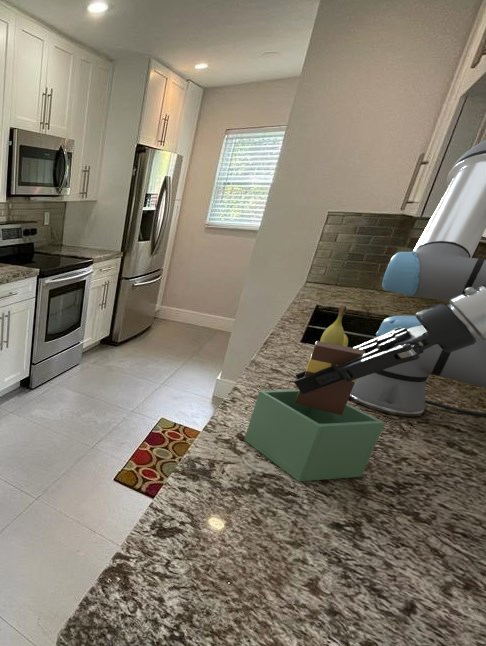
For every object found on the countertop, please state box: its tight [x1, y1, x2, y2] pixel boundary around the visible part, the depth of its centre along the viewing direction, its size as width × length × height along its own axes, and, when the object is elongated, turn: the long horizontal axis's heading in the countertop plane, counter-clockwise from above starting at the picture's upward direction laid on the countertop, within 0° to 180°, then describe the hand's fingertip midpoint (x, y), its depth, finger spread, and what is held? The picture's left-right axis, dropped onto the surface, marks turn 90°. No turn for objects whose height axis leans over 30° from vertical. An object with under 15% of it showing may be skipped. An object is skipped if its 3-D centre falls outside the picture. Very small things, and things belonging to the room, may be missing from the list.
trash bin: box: [243, 389, 386, 482], centre depth 81 cm, size 14×14×12 cm
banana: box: [320, 305, 349, 347], centre depth 132 cm, size 23×6×20 cm, turn 130°
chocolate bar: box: [295, 340, 365, 415], centre depth 77 cm, size 4×7×12 cm, turn 50°
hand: (299, 383), depth 80 cm, fingers closed on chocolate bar, 4 cm apart
